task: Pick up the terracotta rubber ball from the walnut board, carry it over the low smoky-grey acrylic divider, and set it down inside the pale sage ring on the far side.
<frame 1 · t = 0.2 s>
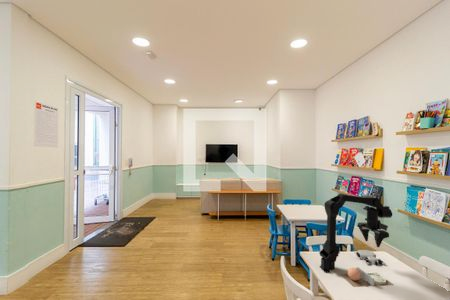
hand: (372, 244, 134), 14 cm above the table, fingers open, 9 cm apart
rubber ball: (354, 274, 120), point 4 cm above the table, touching fence board
fence board: (365, 281, 120), on the table
robot toy: (369, 262, 143), on the table
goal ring: (375, 278, 121), resting on fence board
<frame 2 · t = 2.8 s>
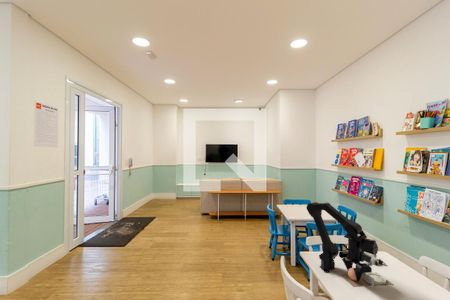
hand: (354, 277, 120), 2 cm above the table, fingers closed on rubber ball, 6 cm apart
rubber ball: (354, 274, 120), point 4 cm above the table, touching fence board, gripper
everything else where it was.
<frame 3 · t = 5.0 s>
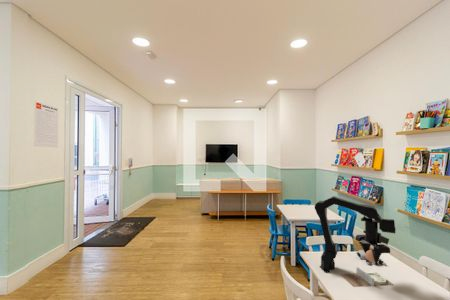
hand: (372, 259, 120), 12 cm above the table, fingers closed on rubber ball, 6 cm apart
rubber ball: (371, 256, 121), point 13 cm above the table, touching gripper
everything else where it was.
when the fingers open (4 cm above the table, at t = 7.4 s): rubber ball drops 1 cm, resting on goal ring.
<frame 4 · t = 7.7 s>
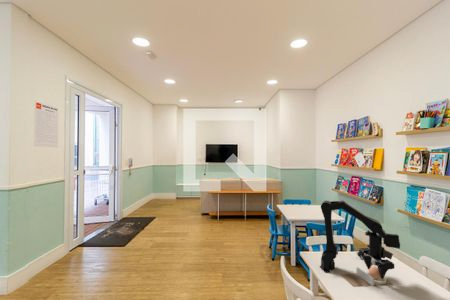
hand: (375, 273, 121), 4 cm above the table, fingers open, 9 cm apart
rubber ball: (375, 272, 121), point 4 cm above the table, touching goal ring
everything else where it was.
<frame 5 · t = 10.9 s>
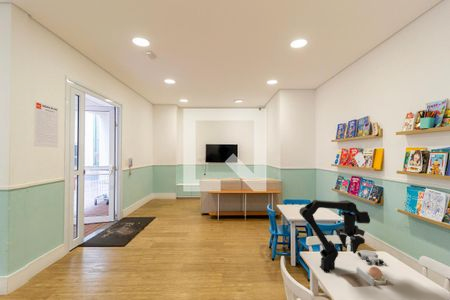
hand: (349, 249, 131), 12 cm above the table, fingers open, 9 cm apart
nothing on the table moved.
at the end: rubber ball 0.1 cm from the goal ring (horizontally); rubber ball point 4.2 cm above the table; the gripper is holding nothing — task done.
